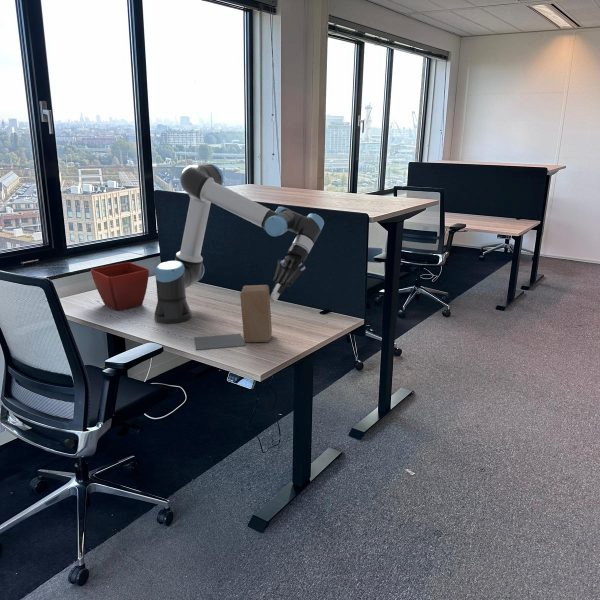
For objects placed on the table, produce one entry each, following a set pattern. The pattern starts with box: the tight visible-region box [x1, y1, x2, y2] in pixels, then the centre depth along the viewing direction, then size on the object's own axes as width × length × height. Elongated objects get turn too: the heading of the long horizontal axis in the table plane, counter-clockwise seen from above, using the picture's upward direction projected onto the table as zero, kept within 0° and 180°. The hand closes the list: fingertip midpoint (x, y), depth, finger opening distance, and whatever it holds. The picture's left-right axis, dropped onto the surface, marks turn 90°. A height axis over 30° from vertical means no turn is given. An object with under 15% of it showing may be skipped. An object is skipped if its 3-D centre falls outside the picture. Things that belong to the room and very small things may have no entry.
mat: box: [193, 333, 246, 351], centre depth 201 cm, size 18×12×1 cm, turn 105°
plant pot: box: [90, 261, 150, 311], centre depth 240 cm, size 19×19×17 cm
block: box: [239, 284, 273, 343], centre depth 201 cm, size 10×10×20 cm
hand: (272, 299), depth 201 cm, fingers closed
